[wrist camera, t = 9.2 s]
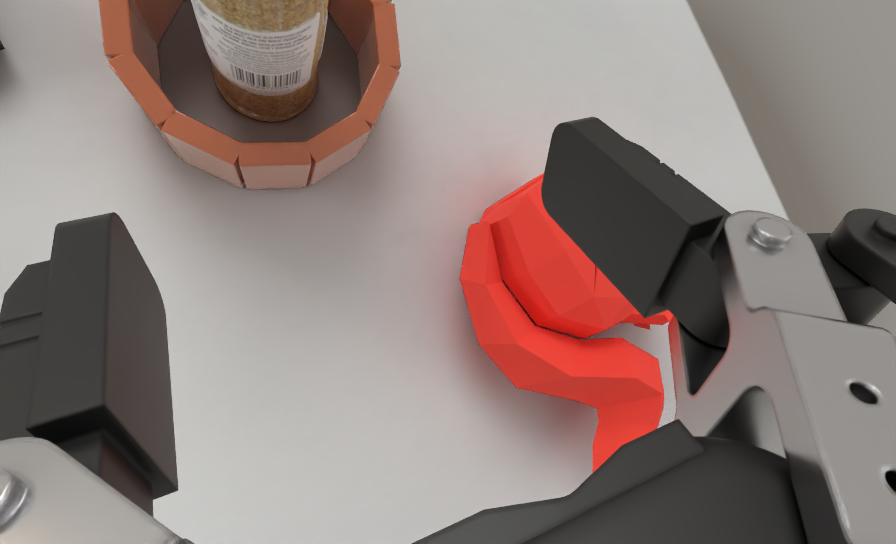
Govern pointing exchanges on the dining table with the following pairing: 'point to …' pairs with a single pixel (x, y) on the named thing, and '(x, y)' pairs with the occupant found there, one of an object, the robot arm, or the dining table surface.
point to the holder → (254, 163)
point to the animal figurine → (558, 319)
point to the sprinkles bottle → (264, 52)
